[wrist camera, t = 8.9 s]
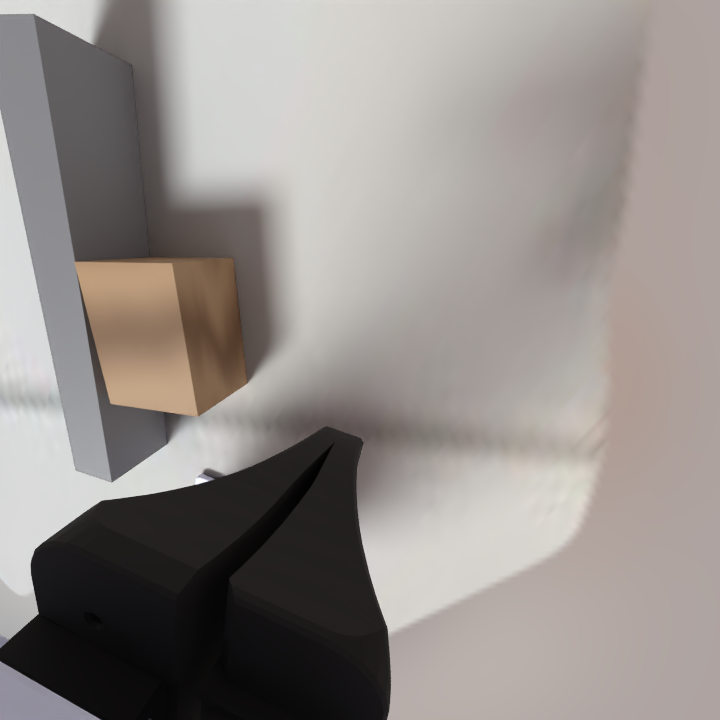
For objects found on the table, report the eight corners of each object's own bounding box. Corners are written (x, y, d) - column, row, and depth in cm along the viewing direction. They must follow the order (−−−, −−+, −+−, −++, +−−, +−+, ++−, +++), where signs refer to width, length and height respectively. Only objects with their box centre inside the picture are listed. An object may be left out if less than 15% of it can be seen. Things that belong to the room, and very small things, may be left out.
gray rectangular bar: (169, 442, 28) (111, 482, 23) (138, 433, 28) (75, 470, 24) (135, 67, 19) (33, 13, 15) (91, 66, 20) (-20, 14, 15)
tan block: (248, 382, 24) (198, 416, 19) (174, 373, 25) (110, 403, 21) (234, 257, 21) (172, 263, 17) (152, 256, 23) (74, 261, 18)
